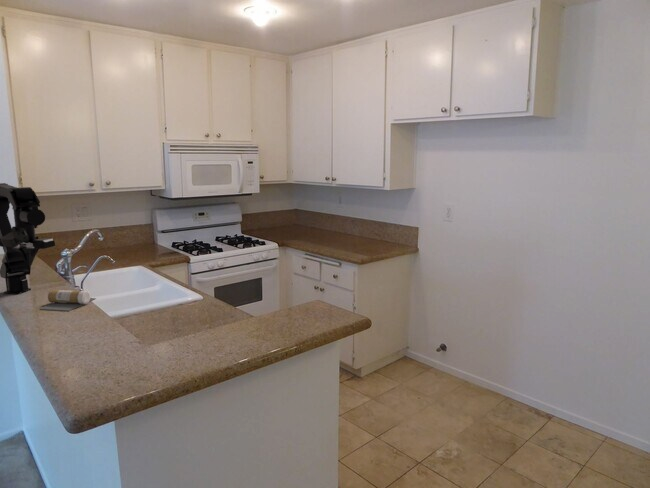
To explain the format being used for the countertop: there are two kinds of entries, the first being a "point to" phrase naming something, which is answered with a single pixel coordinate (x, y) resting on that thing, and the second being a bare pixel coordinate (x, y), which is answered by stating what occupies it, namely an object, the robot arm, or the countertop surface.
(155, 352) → the countertop surface
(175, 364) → the countertop surface
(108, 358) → the countertop surface
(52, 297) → the sprinkles bottle
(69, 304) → the mat
